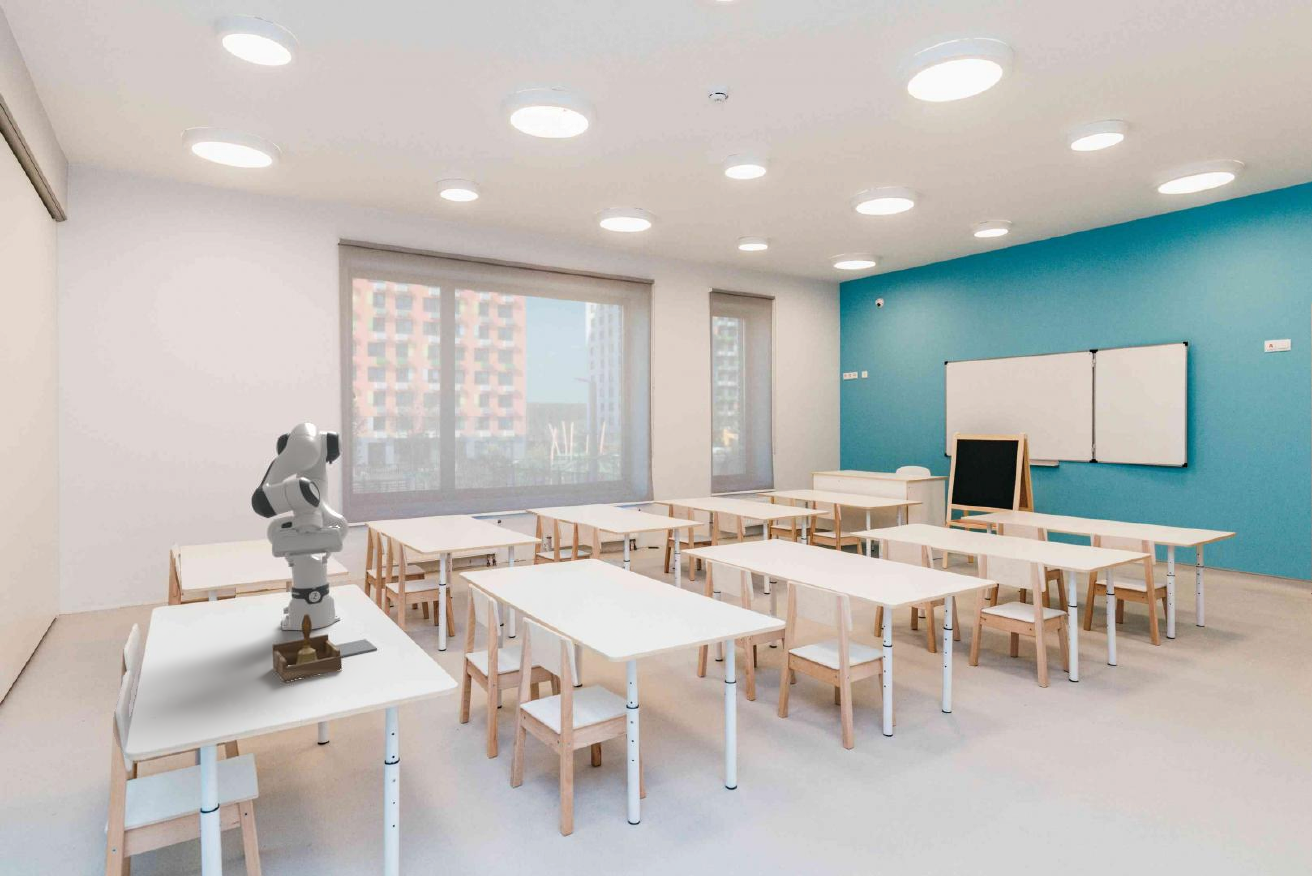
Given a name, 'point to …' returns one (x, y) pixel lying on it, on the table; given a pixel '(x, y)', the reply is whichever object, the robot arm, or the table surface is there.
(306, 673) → the open wooden box
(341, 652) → the slate mat
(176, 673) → the table surface
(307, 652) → the hand bell
